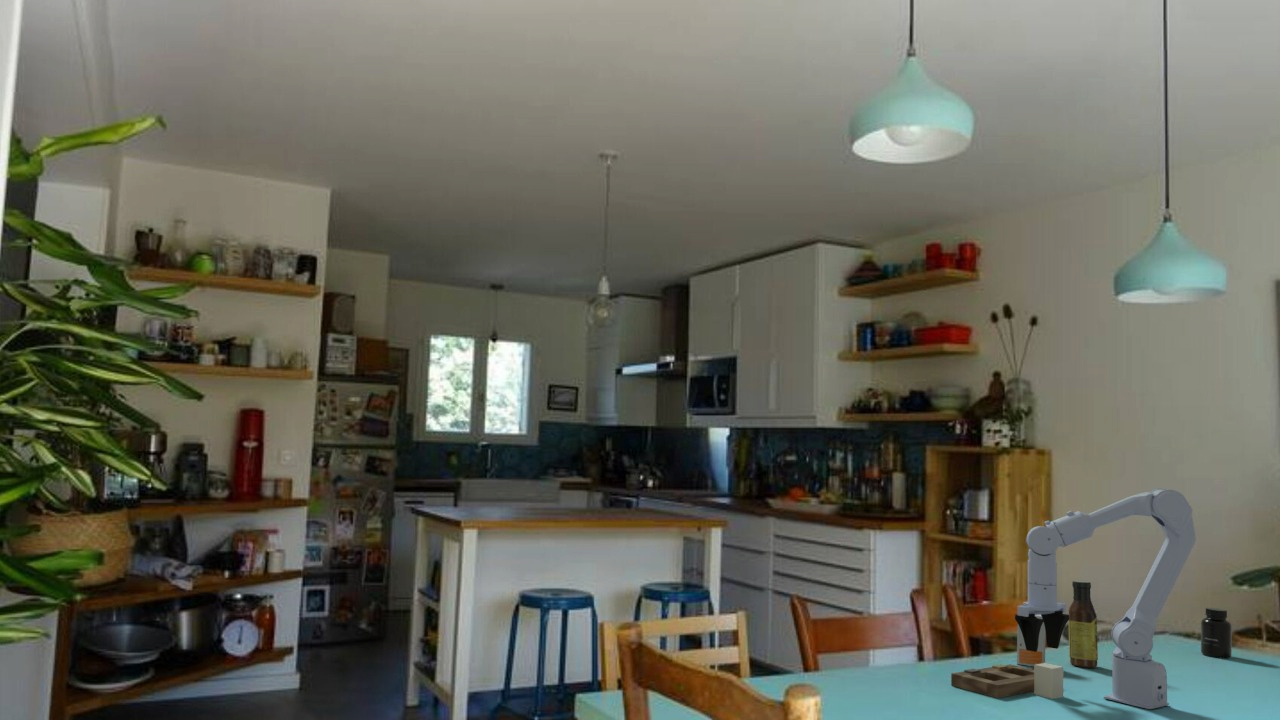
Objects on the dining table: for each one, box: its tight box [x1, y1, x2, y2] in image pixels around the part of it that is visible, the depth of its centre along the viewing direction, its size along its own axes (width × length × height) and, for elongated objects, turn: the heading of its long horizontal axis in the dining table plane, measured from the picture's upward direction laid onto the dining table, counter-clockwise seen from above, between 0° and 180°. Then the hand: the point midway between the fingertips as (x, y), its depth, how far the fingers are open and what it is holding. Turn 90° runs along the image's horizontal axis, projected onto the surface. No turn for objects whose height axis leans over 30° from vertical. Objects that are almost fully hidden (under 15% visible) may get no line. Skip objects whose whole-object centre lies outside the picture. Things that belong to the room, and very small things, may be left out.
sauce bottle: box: [1067, 580, 1099, 669], centre depth 224 cm, size 7×6×20 cm
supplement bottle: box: [1200, 607, 1233, 659], centre depth 244 cm, size 7×7×12 cm
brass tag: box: [991, 663, 1008, 669], centre depth 205 cm, size 2×3×1 cm, turn 125°
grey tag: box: [963, 668, 981, 674], centre depth 199 cm, size 2×3×1 cm, turn 125°
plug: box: [1033, 662, 1064, 700], centre depth 192 cm, size 4×4×6 cm
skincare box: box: [1016, 614, 1046, 668], centre depth 222 cm, size 6×4×12 cm
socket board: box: [950, 663, 1034, 699], centre depth 198 cm, size 11×21×2 cm, turn 125°
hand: (1042, 649), depth 196 cm, fingers open, 7 cm apart
